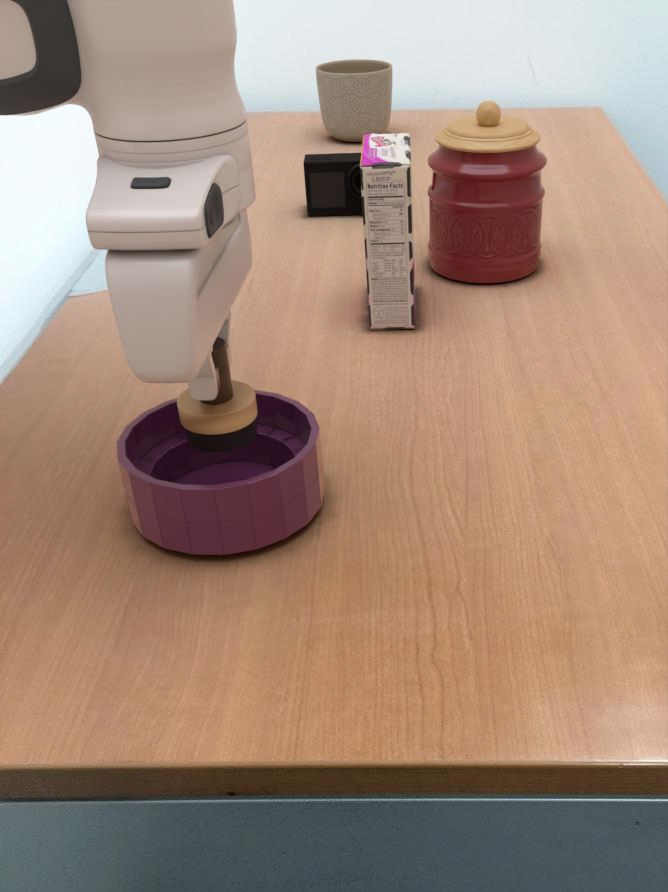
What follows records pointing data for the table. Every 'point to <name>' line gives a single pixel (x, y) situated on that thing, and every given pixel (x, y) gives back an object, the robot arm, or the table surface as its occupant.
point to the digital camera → (333, 184)
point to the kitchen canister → (486, 198)
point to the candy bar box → (388, 230)
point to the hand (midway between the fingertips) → (212, 383)
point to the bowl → (222, 480)
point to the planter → (355, 97)
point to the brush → (220, 411)
